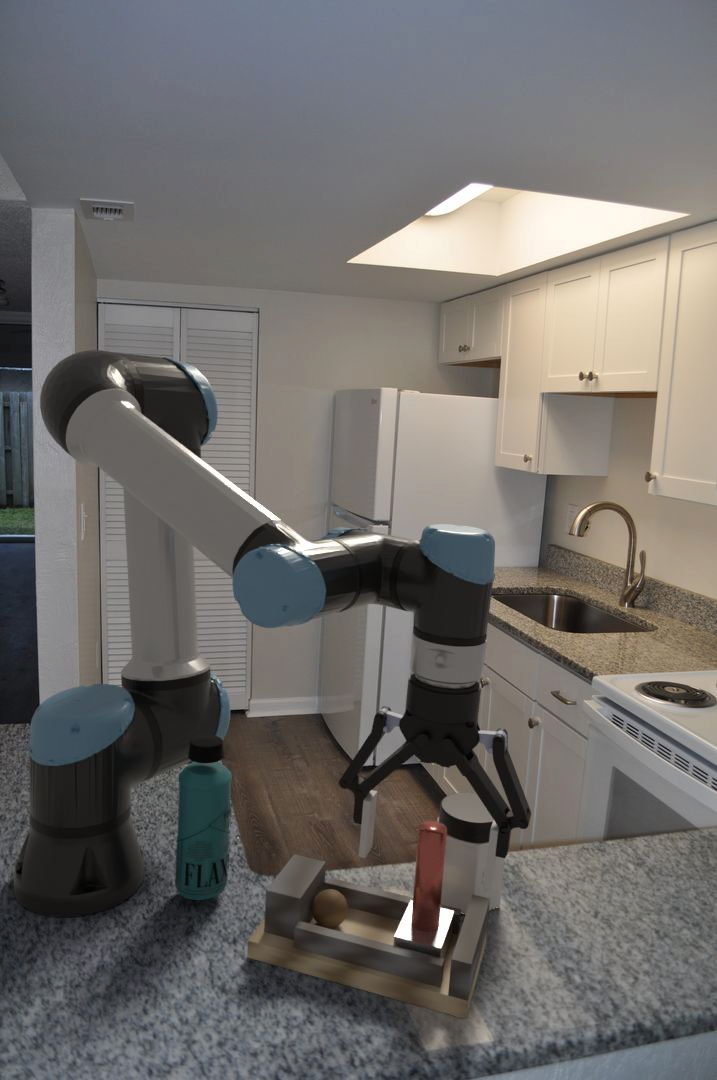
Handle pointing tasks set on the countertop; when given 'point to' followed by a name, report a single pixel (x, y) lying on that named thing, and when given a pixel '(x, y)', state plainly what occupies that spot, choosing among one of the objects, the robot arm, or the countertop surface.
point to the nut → (329, 908)
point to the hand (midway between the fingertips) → (426, 866)
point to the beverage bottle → (203, 821)
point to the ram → (427, 897)
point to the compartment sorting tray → (367, 941)
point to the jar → (467, 852)
